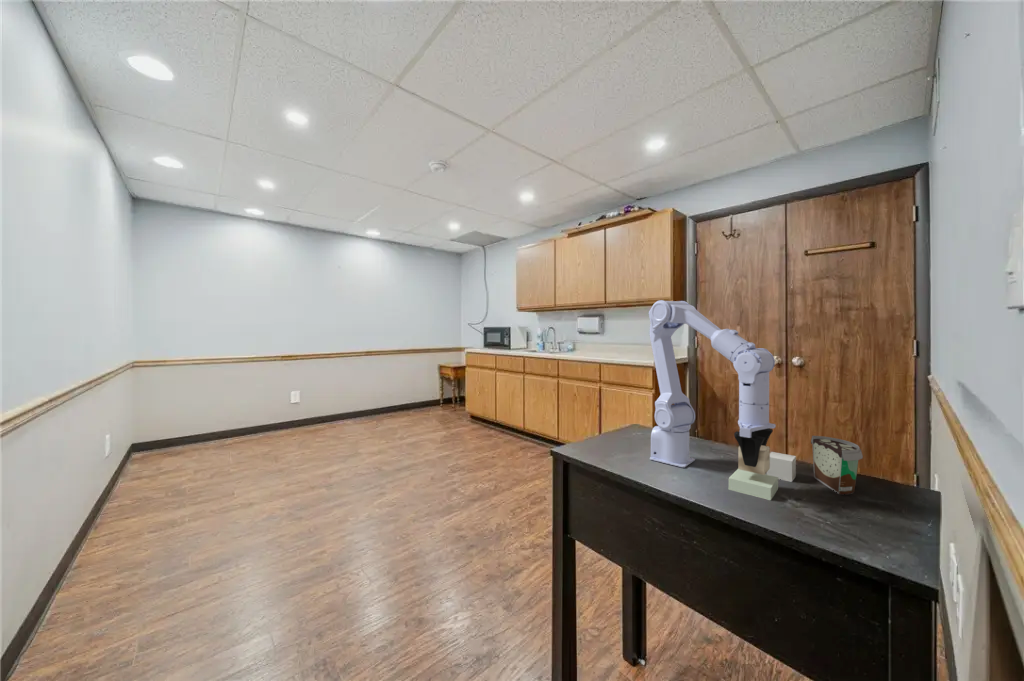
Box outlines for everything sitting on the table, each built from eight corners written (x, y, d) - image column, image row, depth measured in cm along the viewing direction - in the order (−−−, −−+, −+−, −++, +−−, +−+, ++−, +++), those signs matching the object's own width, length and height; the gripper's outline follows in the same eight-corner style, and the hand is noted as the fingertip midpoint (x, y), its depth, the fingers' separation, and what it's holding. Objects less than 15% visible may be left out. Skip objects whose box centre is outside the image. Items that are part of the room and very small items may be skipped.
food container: (877, 499, 80) (878, 452, 79) (843, 497, 81) (844, 451, 80) (839, 476, 92) (839, 436, 91) (810, 475, 93) (810, 434, 93)
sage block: (728, 491, 86) (728, 478, 85) (738, 480, 91) (738, 468, 91) (770, 502, 80) (770, 488, 80) (778, 490, 86) (778, 477, 85)
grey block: (766, 476, 93) (766, 456, 92) (771, 471, 96) (771, 451, 96) (791, 482, 89) (792, 461, 89) (795, 476, 93) (795, 456, 92)
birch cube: (738, 469, 85) (738, 447, 85) (744, 463, 89) (744, 442, 89) (764, 474, 82) (764, 452, 82) (769, 468, 85) (769, 446, 85)
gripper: (767, 410, 77) (767, 476, 77) (781, 400, 87) (781, 458, 88) (728, 405, 82) (728, 467, 82) (746, 396, 92) (746, 451, 93)
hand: (753, 462), depth 85 cm, fingers closed on birch cube, 5 cm apart
